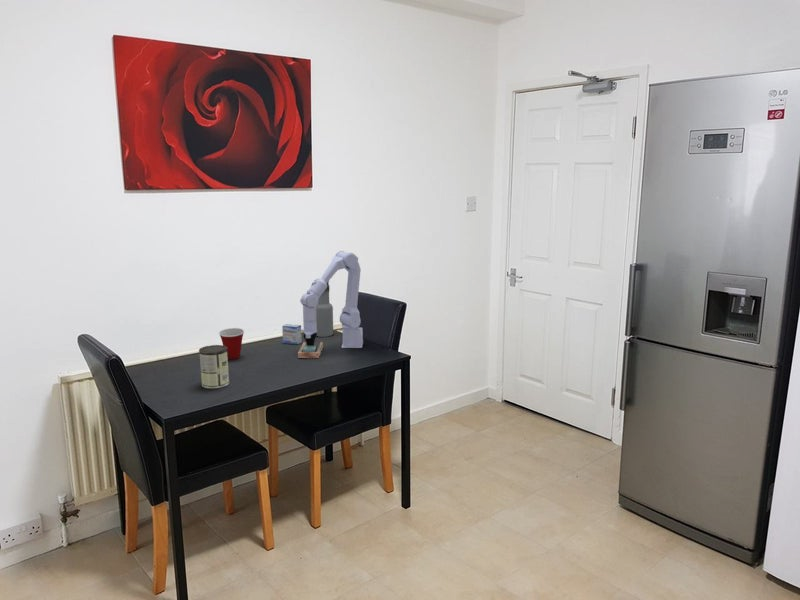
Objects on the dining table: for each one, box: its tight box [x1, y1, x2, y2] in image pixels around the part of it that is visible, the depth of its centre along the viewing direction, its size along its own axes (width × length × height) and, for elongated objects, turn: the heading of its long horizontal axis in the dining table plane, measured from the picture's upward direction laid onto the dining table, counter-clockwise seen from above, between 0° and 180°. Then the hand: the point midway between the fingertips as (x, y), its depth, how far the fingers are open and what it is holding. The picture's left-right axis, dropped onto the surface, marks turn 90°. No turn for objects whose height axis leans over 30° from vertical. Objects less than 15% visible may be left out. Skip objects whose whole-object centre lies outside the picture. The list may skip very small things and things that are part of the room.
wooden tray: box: [297, 341, 324, 360], centre depth 280 cm, size 9×18×2 cm, turn 1°
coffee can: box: [198, 344, 230, 389], centre depth 237 cm, size 10×10×14 cm
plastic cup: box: [218, 327, 245, 360], centre depth 271 cm, size 11×11×12 cm
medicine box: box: [281, 323, 303, 345], centre depth 296 cm, size 8×4×9 cm, turn 73°
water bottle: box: [310, 278, 334, 338], centre depth 308 cm, size 10×10×28 cm
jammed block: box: [303, 345, 317, 352], centre depth 276 cm, size 5×5×4 cm
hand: (310, 349), depth 279 cm, fingers closed
